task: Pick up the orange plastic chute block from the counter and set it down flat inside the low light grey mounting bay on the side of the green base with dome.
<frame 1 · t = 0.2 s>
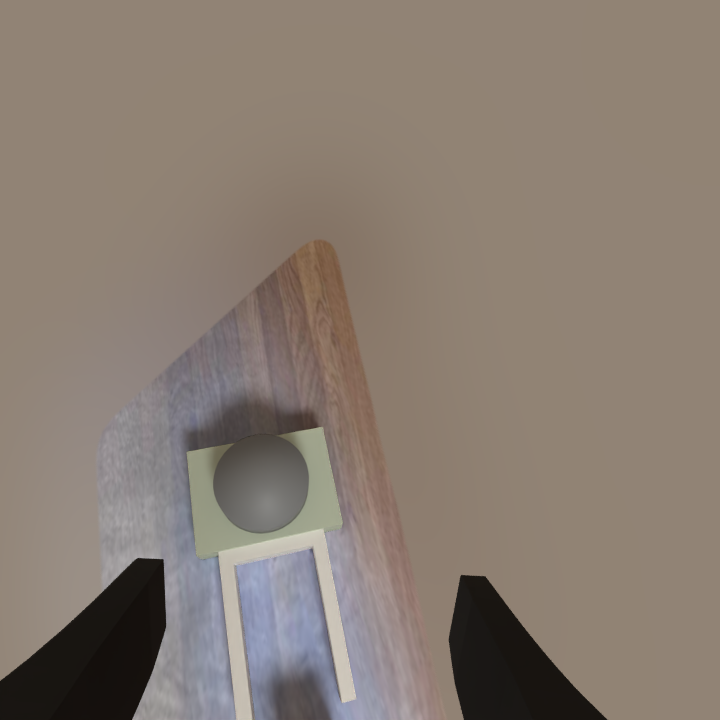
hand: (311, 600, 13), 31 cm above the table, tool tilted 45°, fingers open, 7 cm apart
green base with dome: (285, 626, 40), on the table
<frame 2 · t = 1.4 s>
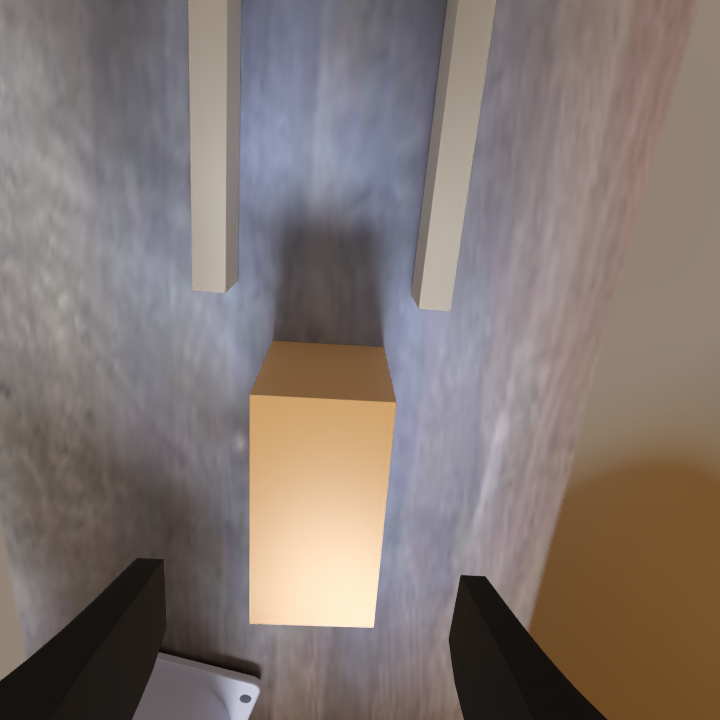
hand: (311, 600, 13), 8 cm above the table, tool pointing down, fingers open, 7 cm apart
chute block: (323, 441, 21), on the table
green base with dome: (337, 114, 17), on the table
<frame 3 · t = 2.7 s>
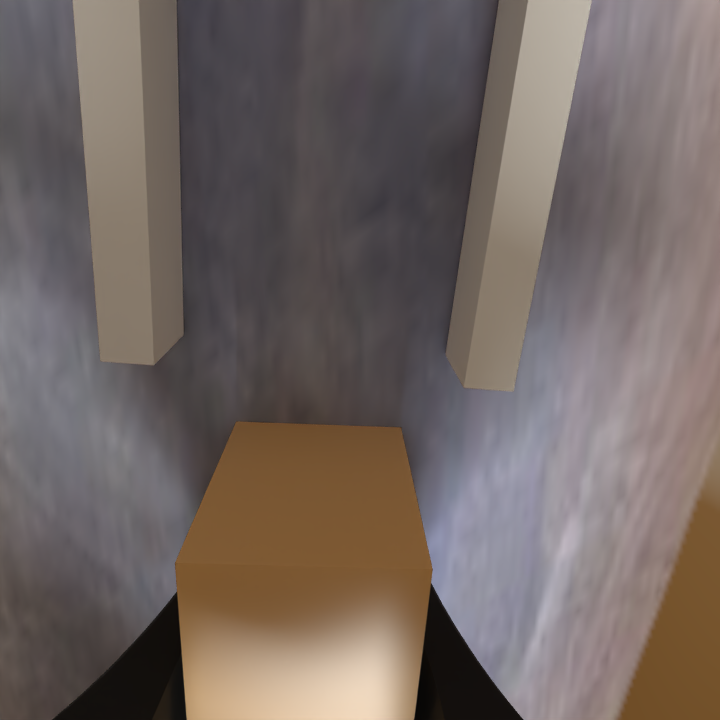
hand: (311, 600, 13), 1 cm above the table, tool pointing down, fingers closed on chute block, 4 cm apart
chute block: (315, 557, 14), on the table, touching gripper
green base with dome: (333, 77, 10), on the table
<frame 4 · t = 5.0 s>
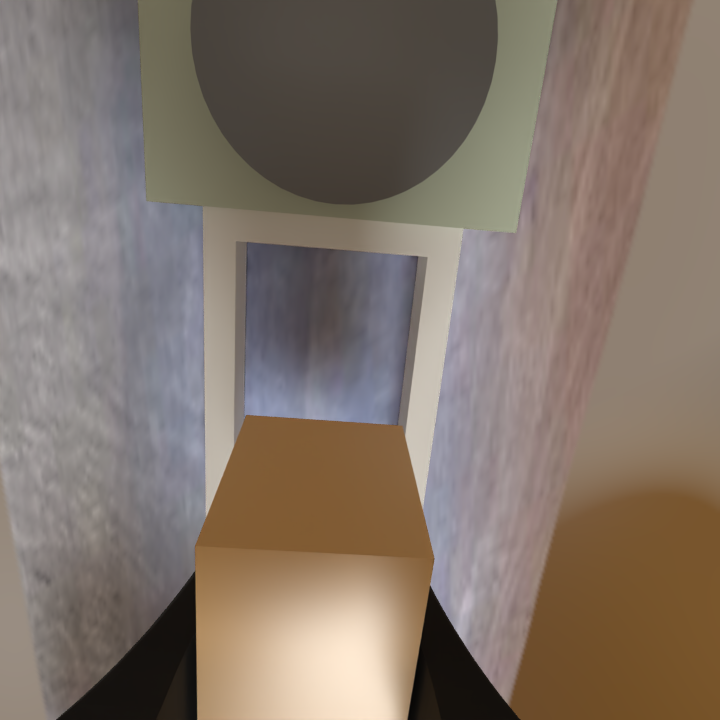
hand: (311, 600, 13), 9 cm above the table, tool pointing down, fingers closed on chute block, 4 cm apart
chute block: (315, 548, 15), point 6 cm above the table, touching gripper
green base with dome: (324, 375, 20), on the table
when the fingers open (3 cm above the table, at t = 7.0 s): chute block drops 1 cm, resting in green base with dome.
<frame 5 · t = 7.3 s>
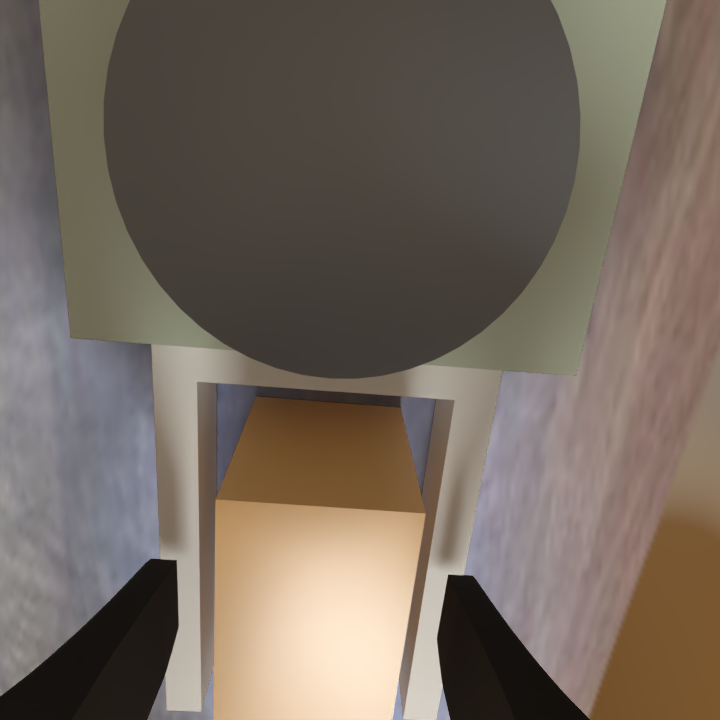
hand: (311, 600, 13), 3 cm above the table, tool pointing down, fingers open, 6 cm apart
chute block: (318, 520, 16), resting in green base with dome
green base with dome: (318, 518, 16), on the table
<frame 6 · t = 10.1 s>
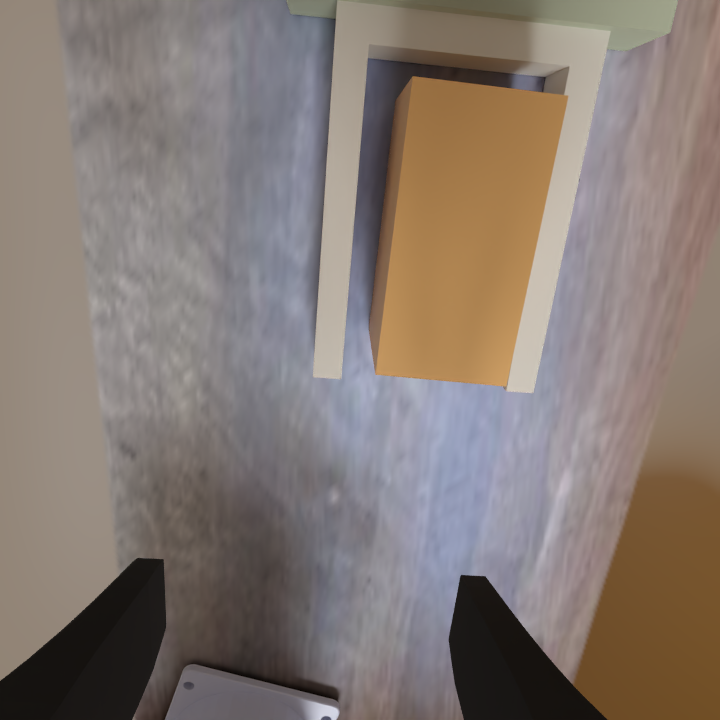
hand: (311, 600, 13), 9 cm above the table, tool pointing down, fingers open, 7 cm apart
chute block: (435, 228, 19), resting in green base with dome
green base with dome: (436, 223, 19), on the table
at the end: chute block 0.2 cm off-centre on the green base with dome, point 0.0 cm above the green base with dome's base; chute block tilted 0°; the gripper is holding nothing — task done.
